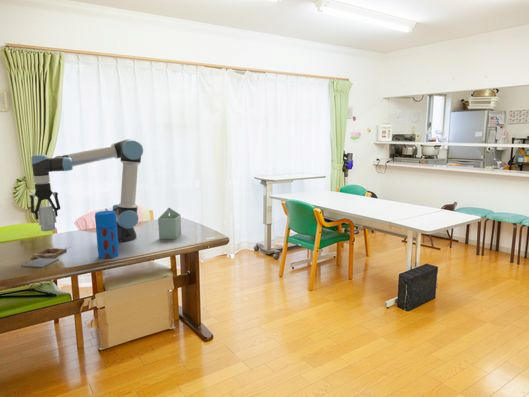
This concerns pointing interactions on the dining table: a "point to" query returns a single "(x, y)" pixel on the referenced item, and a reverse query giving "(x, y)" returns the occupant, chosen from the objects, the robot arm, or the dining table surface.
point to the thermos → (106, 234)
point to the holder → (42, 253)
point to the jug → (47, 218)
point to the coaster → (40, 262)
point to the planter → (169, 225)
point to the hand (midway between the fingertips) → (47, 223)
